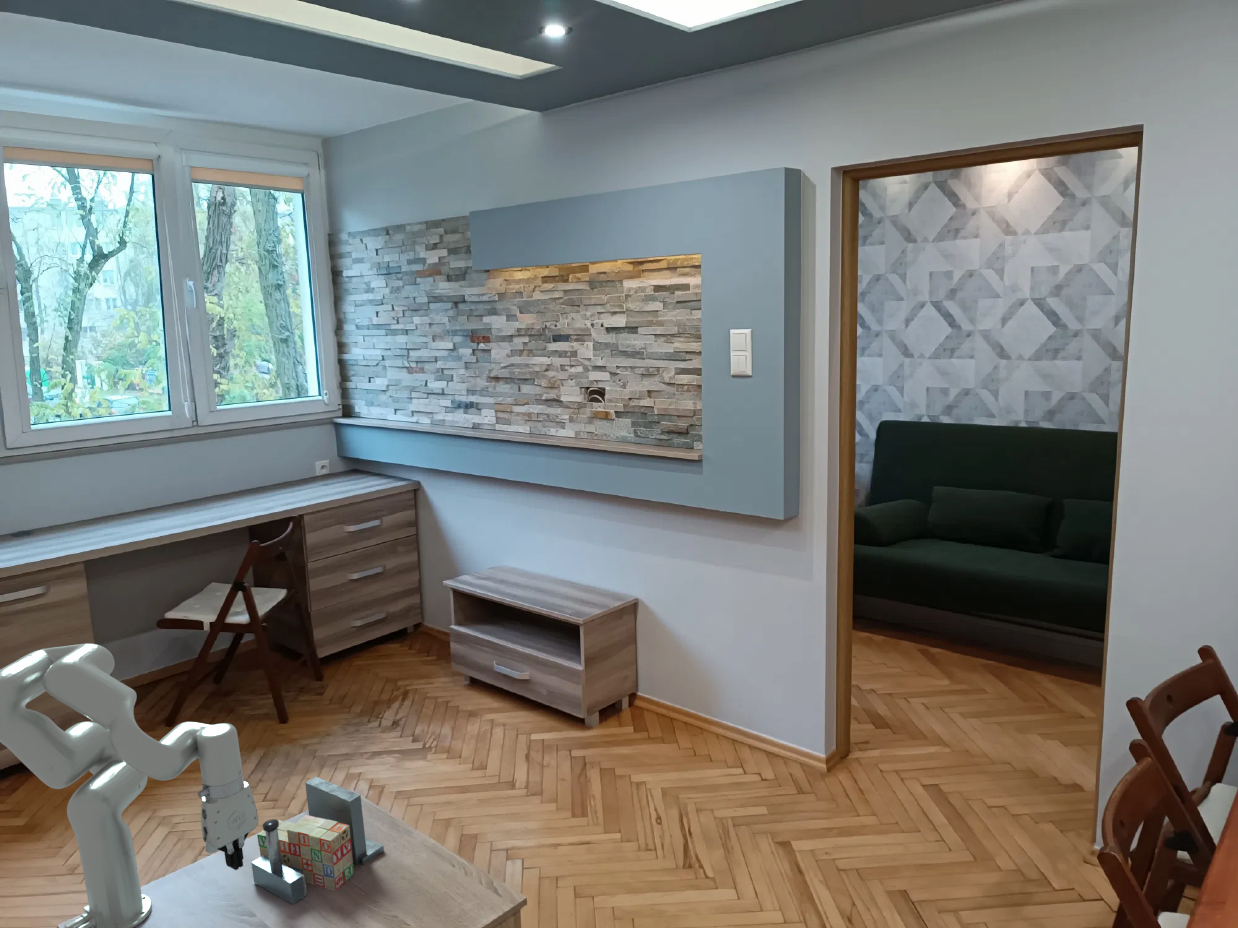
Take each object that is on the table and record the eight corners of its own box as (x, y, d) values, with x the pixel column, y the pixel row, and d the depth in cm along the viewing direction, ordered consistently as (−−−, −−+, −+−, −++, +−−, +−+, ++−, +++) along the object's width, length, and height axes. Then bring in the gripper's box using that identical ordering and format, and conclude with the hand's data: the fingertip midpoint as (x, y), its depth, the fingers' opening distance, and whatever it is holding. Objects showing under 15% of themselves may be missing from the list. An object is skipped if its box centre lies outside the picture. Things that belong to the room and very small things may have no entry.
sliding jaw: (292, 904, 188) (283, 836, 185) (253, 882, 196) (244, 817, 193) (306, 894, 190) (298, 828, 188) (268, 873, 198) (259, 809, 196)
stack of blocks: (261, 870, 200) (254, 821, 198) (281, 854, 206) (275, 806, 204) (336, 891, 192) (330, 839, 190) (355, 874, 197) (349, 823, 195)
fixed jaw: (357, 868, 199) (350, 803, 196) (308, 844, 209) (300, 782, 206) (384, 851, 205) (377, 787, 202) (334, 828, 215) (327, 767, 212)
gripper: (199, 807, 172) (211, 892, 176) (267, 772, 184) (278, 852, 188) (178, 797, 177) (191, 880, 180) (246, 763, 189) (257, 841, 192)
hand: (235, 865), depth 184 cm, fingers closed
